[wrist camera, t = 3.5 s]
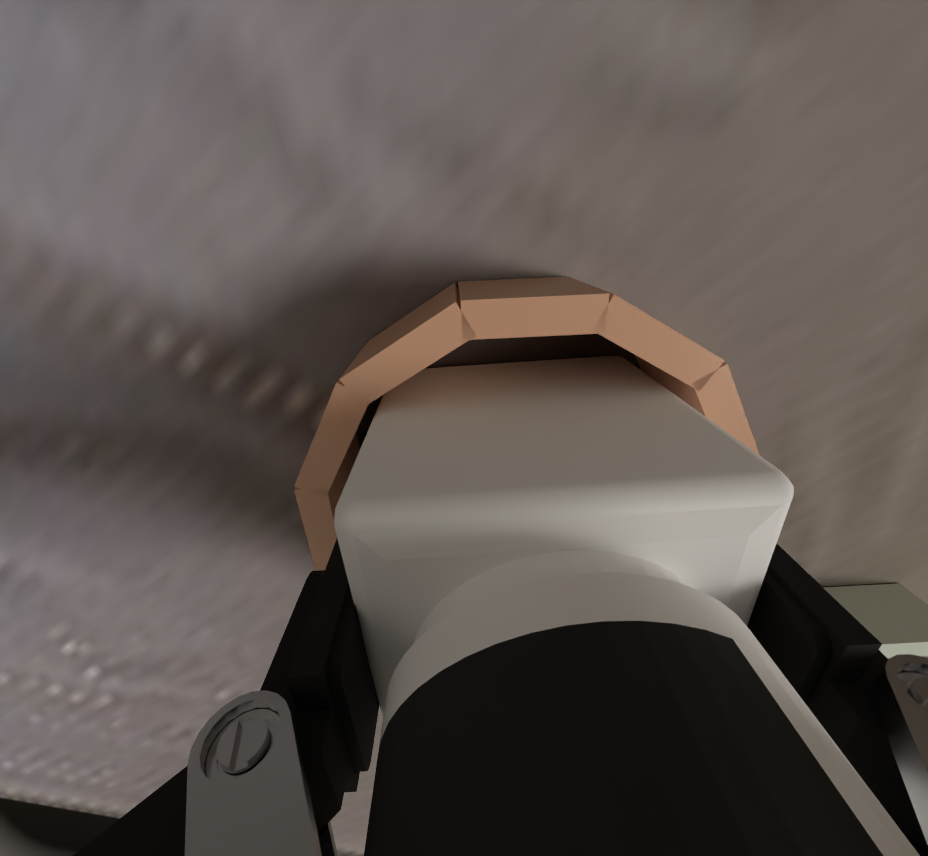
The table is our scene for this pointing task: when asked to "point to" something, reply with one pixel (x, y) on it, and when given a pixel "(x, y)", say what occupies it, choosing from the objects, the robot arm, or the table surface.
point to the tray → (888, 616)
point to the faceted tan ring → (489, 317)
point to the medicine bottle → (580, 628)
